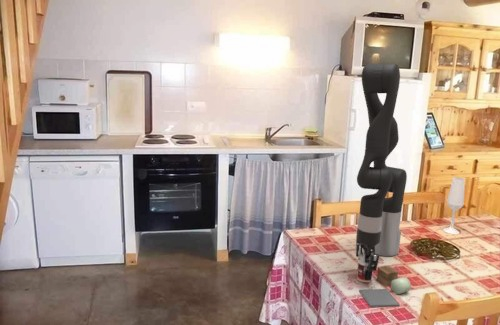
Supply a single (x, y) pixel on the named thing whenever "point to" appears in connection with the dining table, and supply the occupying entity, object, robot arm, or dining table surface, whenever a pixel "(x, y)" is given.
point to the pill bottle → (361, 270)
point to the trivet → (378, 297)
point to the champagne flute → (455, 200)
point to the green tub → (400, 285)
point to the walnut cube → (386, 275)
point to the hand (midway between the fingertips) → (364, 275)
